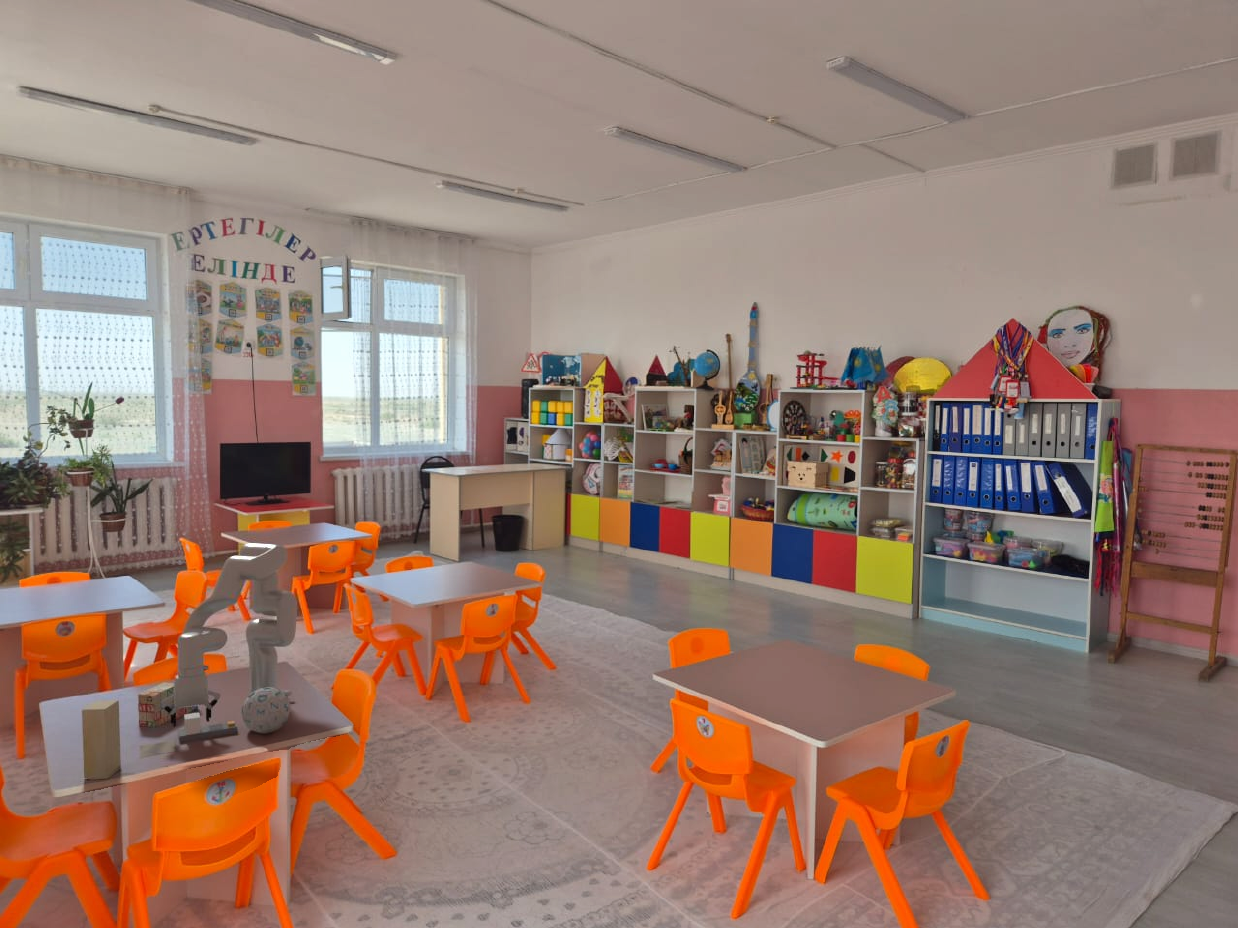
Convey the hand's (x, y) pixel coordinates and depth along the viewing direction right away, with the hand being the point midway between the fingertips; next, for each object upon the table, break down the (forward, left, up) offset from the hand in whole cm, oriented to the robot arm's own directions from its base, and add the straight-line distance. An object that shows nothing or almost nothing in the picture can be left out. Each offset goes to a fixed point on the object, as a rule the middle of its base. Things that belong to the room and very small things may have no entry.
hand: (191, 722), depth 270 cm
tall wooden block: (+25, +15, -6) cm, 29 cm away
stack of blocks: (+5, -26, -6) cm, 27 cm away
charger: (0, 0, -5) cm, 5 cm away
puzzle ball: (-22, +4, -6) cm, 23 cm away
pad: (+10, +5, -6) cm, 12 cm away
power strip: (-5, 0, -6) cm, 8 cm away
